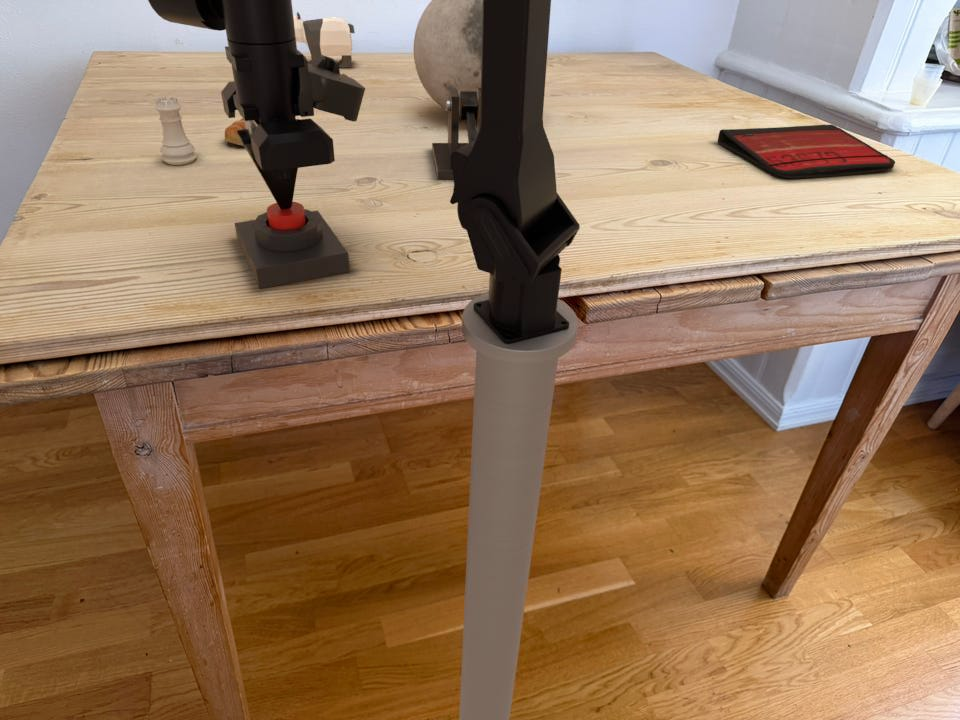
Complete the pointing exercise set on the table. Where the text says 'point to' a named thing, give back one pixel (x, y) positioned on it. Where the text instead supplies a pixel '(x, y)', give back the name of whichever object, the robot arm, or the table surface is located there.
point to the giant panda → (326, 37)
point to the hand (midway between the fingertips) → (285, 207)
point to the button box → (291, 250)
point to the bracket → (451, 136)
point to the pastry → (234, 132)
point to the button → (286, 217)
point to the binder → (805, 151)
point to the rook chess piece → (173, 133)
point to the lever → (469, 112)
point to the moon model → (449, 47)
